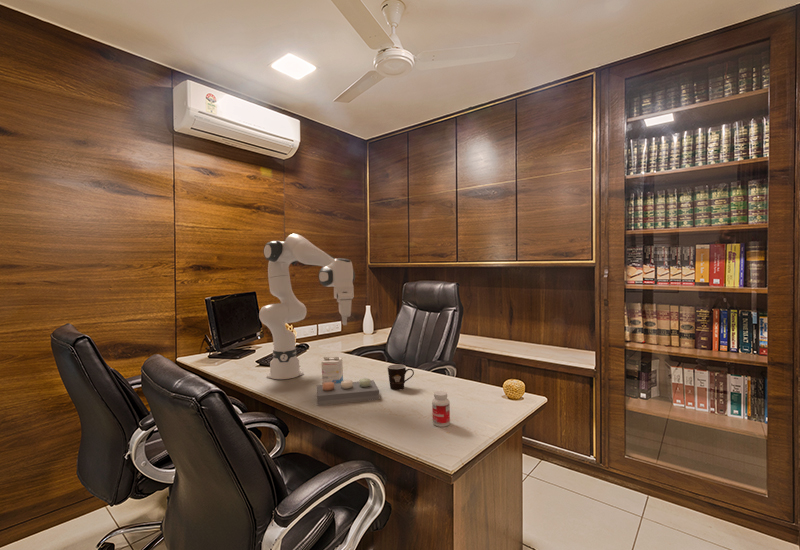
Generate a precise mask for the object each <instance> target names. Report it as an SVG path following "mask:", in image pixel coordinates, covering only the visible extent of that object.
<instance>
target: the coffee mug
mask: <svg viewBox="0 0 800 550" xmlns="http://www.w3.org/2000/svg"><path fill="white" fill-rule="evenodd" d="M406 368H407V366H406V365H404V364H398V363H396V364H389V365H387V373H388V379H389V380H388V382H389V386H390V387H389V388H390V390H393V391H401V390H403V389H405V383H406V382H407V381H409V380H410V379H411V378H412V377H413V376H414V374H415V373H414V369H413V368H407V369H406ZM408 371H412V374H411V375H410V376H409V377H408V378H406V374H407V373H408Z"/></svg>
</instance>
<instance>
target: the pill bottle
mask: <svg viewBox="0 0 800 550" xmlns="http://www.w3.org/2000/svg"><path fill="white" fill-rule="evenodd" d="M433 397H434V398H433V399H432V401H431V402H432V403H431V404H432V406H431V407H432V409H431V410H432V413H431V414H432V415H431V417H432V424H433V425H434V426H436V427H439V428H445V427H448V426H450V424H451V411H450V410H451V409H450V407H451V406H450V404H451V402H450V400H449V398H448V392H446V391H444V390H443V391H442V390H436V391H435V392H433Z"/></svg>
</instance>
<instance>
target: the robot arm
mask: <svg viewBox="0 0 800 550" xmlns="http://www.w3.org/2000/svg"><path fill="white" fill-rule="evenodd" d="M263 256H264V258H265V260H266V261H268V263H267V264H268V265H267V279H268V285H269V287H268V288H269V293H270V294H271V295H272V296H273V297H276V298H277V299H278V300H279V301H280V302H279V303H270V304H267V305H264V306H261V309H260V310H259V313H258V317H259V320H260V322H261V323H262V324H263V325H264V326H266V327H267V328H268V329H269V331H270V333H271V334H272V335H271V336H272V342H273V350H272V357H273V358H272V360H270V362H269V364H270V365H269V373H268V374H266V378H268V379H273V380H288V379H294V378H296V377H299V376H303V375H304V371H303V369H301V365H300V359H299V358H298V357H297V347H296V335H295V333H294V332H293V331H291V330H289V329H287V327H286V324H291V323H297V322H300V321H302V320H304V319H305V318H306V316H307V314H308V313H307V311H308V310H307V307H306V305H305V304H304V303H303V302H301V301H300V300H299V299H298V298H297V297H296V295H295V293H294V292H293V288H292V282H291V276H290V270H289V268H290V265H291V264H292V265H293V266H294V265H296V264H297V263H298V262H299V263H302V264H303V265H311V266H319V267H321V268H320V270H319V272H318V280H319V281H318V282H319V283H320V285H322V286H323V287H329V288H330V287H333V299H336V303H338V312H339V314H340V316H341V323H342V325H343V326H348V322H347V321H348V318H349V317H351V314H352V303H353V302H352V300H353V299H354V298H355V297H354V296H355V293H354V287H355V286H354V282H355V279H356V273H355V269H354V267H353V263H352V261H351V259H348V258H343V257H342V258H341V257H338V258H335V257H333V256H332V255H330V254H329V253H327V252H326V251H323V250H322V249H321V248H319V247H318V246H316V245H315V244H313V243H312V242H310V240H309V239H307V238H305V237H304V236H303V235H300V234H299V233H292V234H289V235H288V236H287V237H286V238H285V240H284V241H280V240H271V241H268V242H267V243H266V244H265V245H264V247H263Z"/></svg>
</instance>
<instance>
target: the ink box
mask: <svg viewBox="0 0 800 550" xmlns="http://www.w3.org/2000/svg"><path fill="white" fill-rule="evenodd" d="M343 368H344V367H343V357H338V356H324V357H323V360H322V361H321V377H322V378H321V380H322V384H323V383H325V382H334V384H337V383H341V382H342V381H344V375H343V374H344V372H343V371H344V369H343ZM322 384H321V385H322Z"/></svg>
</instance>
